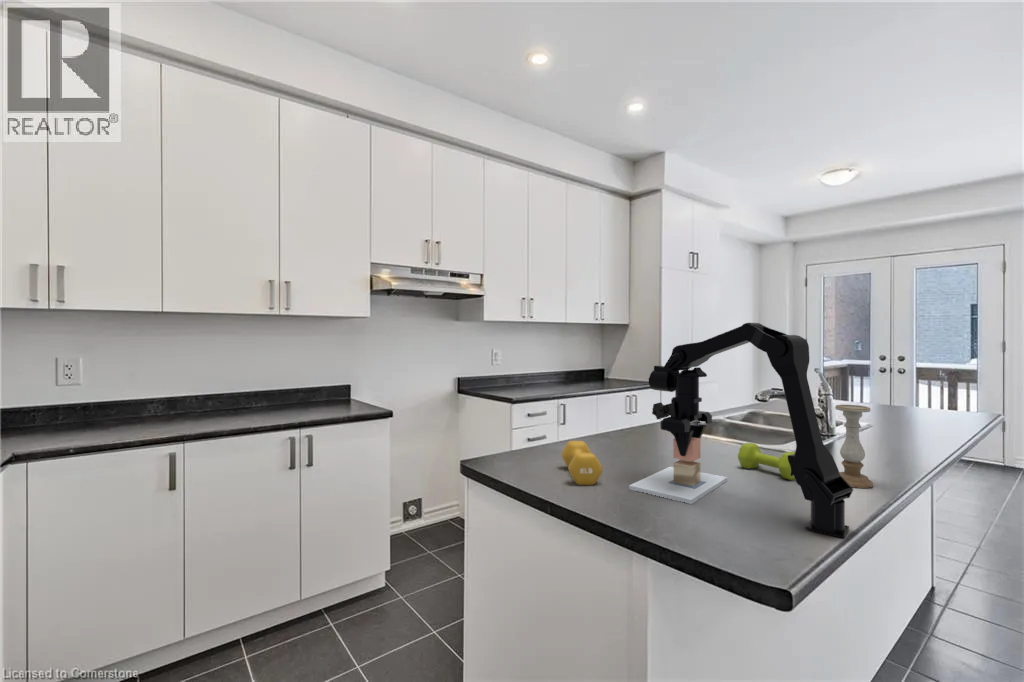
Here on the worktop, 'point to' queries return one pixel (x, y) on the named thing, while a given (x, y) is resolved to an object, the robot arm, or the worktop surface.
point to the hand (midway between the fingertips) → (687, 454)
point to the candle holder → (853, 447)
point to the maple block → (687, 472)
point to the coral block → (692, 451)
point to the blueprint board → (677, 486)
